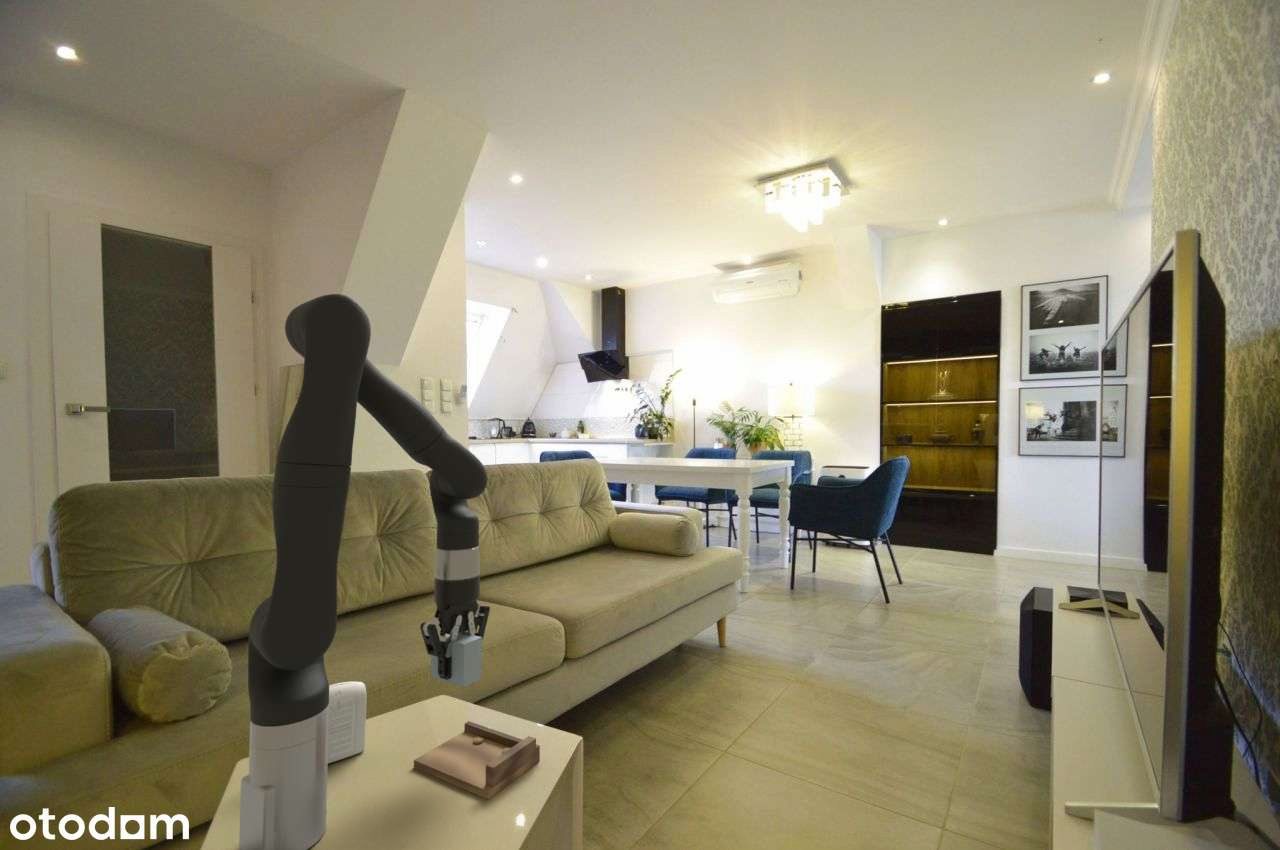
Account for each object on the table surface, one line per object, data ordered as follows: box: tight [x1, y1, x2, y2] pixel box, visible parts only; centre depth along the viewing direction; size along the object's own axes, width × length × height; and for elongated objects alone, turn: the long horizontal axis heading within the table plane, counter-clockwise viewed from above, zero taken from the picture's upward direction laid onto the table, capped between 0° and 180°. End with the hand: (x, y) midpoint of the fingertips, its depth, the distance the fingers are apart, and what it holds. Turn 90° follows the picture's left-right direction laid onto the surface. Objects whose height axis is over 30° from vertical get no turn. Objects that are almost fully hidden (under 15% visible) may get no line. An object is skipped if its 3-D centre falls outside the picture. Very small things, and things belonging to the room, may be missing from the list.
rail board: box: [413, 720, 541, 800], centre depth 94 cm, size 12×17×4 cm
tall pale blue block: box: [430, 633, 483, 688], centre depth 96 cm, size 4×8×7 cm, turn 60°
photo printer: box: [327, 681, 368, 765], centre depth 96 cm, size 10×4×12 cm, turn 134°
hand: (456, 672), depth 96 cm, fingers closed on tall pale blue block, 4 cm apart
